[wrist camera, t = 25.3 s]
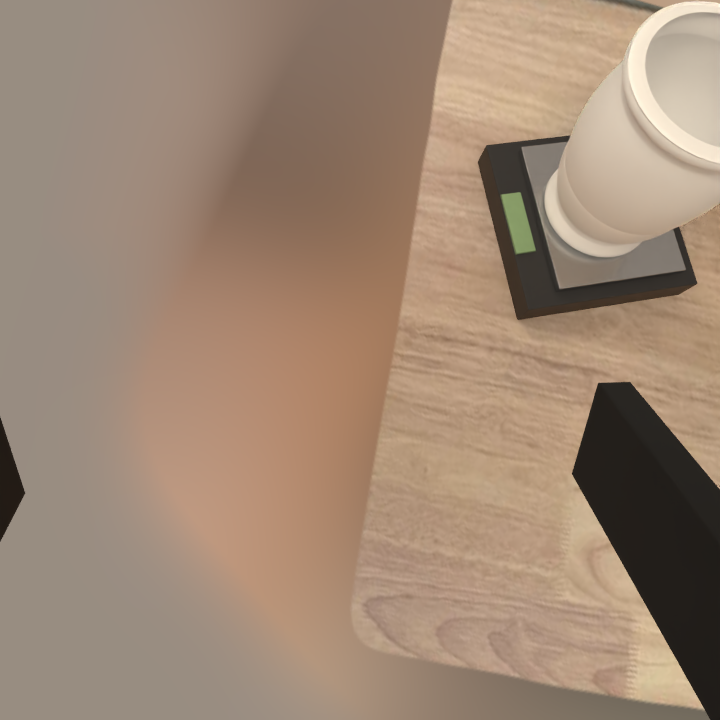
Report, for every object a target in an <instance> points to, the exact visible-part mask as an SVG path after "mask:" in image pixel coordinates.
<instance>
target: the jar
mask: <svg viewBox="0 0 720 720" xmlns="http://www.w3.org/2000/svg"><path fill="white" fill-rule="evenodd" d="M544 203H545V210H546V214H547V217H548V219H549V222H550V224H551V225H552V227H553V229H554V230H555V232H556V233H557V234H558V235H559V236H560V237H561V239H562V240H564V241H565V242H566V243H567V244H568V245H570V246H571V247H573V248H574V249H576V250H578V251H580V252H582V253H585V254H588V255H591V256H596V257H616V256H620V255H623V254H626V253H628V252H630V251H632V250H633V249H635V248H636V247H637V246H638V245H639V244H640V243H641V242H642V241H646V240H649V239H652V238H655V237H658V236H660V235H662V234H664V233H666V232H668V231H670V230H672V229H674V228H677V227H679V226H681V225H684V224H686V223H688V222H690V221H692V220H694V219H696V218H698V217H699V216H701V215H703V214H705V213H706V212H708V211H709V210H711V209H712V208H714V207H715V206H717V205H718V204H719V203H720V4H719V3H714V2H706V1H690V2H682V3H677V4H674V5H671V6H668V7H665V8H663V9H661V10H659V11H657V12H656V13H654V14H653V15H651V16H650V17H649V18H648V19H647V20H646V21H645V22H644V23H643V24H642V25H641V26H640V27H639V29H638V30H637V32H636V33H635V35H634V37H633V38H632V40H631V42H630V43H629V45H628V48H627V50H626V53H625V56H624V60H622V61H621V62H620V63H619V64H618V65H617V66H616V67H615V68H614V69H613V70H612V71H611V72H610V73H609V75H608V76H607V77H606V78H605V79H604V80H603V81H602V82H601V84H600V85H599V86H598V87H597V89H596V90H595V91H594V93H593V94H592V95H591V97H590V98H589V100H588V101H587V103H586V105H585V106H584V108H583V110H582V111H581V113H580V115H579V117H578V119H577V121H576V123H575V126H574V128H573V130H572V133H571V136H570V139H569V141H568V142H567V145H566V147H565V149H564V151H563V154H562V157H561V160H560V164H559V168H558V169H557V170H556V171H555V172H554V174H553V175H552V176H551V178H550V180H549V182H548V184H547V187H546V190H545V198H544Z"/></svg>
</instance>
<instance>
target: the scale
mask: <svg viewBox="0 0 720 720" xmlns="http://www.w3.org/2000/svg"><path fill="white" fill-rule="evenodd" d="M569 139H570V136H562V137H554V138H545V139H537V140H528V141H520V142H511V143H503V144H494V145H487V146H486V147H485V149H484V151H483V153H482V155H481V157H480V159H479V161H478V164H479V168H480V172H481V176H482V180H483V184H484V188H485V192H486V196H487V200H488V204H489V208H490V212H491V216H492V220H493V224H494V228H495V232H496V236H497V240H498V244H499V248H500V252H501V256H502V260H503V264H504V268H505V272H506V276H507V280H508V284H509V288H510V292H511V296H512V300H513V304H514V308H515V312H516V316H517V319H518V320H519V319H525V318H532V317H538V316H544V315H551V314H557V313H563V312H570V311H576V310H583V309H589V308H595V307H602V306H608V305H615V304H621V303H627V302H634V301H640V300H647V299H653V298H659V297H666V296H672V295H678V294H680V293H682V292H684V291H686V290H687V289H689V288H691V287H693V286H694V285H696V284H697V281H696V278H695V275H694V272H693V269H692V265H691V262H690V259H689V256H688V253H687V250H686V247H685V244H684V241H683V237H682V234H681V231H680V228H679V227H677V228H674V229H673V230H674V234H675V237H676V240H677V243H678V246H679V249H680V252H681V256H682V259H683V262H684V265H685V268H686V270H685V271H683V272H682V273H680V274H674V275H667V276H660V277H654V278H647V279H641V280H634V281H627V282H621V283H614V284H608V285H601V286H595V287H588V288H581V289H575V290H568V291H562V292H555V288H554V284H553V280H552V277H551V273H550V269H549V265H548V262H547V258H546V254H545V250H544V247H543V243H542V239H541V236H540V232H539V228H538V224H537V221H536V217H535V213H534V209H533V206H532V202H531V198H530V194H529V191H528V187H527V183H526V180H525V176H524V172H523V168H522V165H521V161H520V157H519V153H518V152H519V150H520V149H521V147H527V146H535V145H544V144H552V143H560V142H568V141H569Z"/></svg>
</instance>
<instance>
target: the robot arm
mask: <svg viewBox="0 0 720 720" xmlns="http://www.w3.org/2000/svg"><path fill="white" fill-rule="evenodd" d="M572 475H573V477H574V478H575V480H576V482H577V484H578V486H579V487H580V489H581V491H582V493H583V494H584V496H585V498H586V500H587V501H588V503H589V505H590V507H591V509H592V510H593V512H594V514H595V516H596V517H597V519H598V521H599V523H600V525H601V526H602V528H603V530H604V532H605V533H606V535H607V537H608V539H609V541H610V542H611V544H612V546H613V548H614V549H615V551H616V553H617V555H618V556H619V558H620V560H621V562H622V564H623V565H624V567H625V569H626V571H627V572H628V574H629V576H630V578H631V580H632V581H633V583H634V585H635V587H636V588H637V590H638V592H639V594H640V596H641V597H642V599H643V601H644V603H645V604H646V606H647V608H648V610H649V611H650V613H651V615H652V617H653V619H654V620H655V622H656V624H657V626H658V627H659V629H660V631H661V633H662V635H663V636H664V638H665V640H666V642H667V643H668V645H669V647H670V649H671V651H672V652H673V654H674V656H675V658H676V659H677V661H678V663H679V665H680V666H681V668H682V670H683V672H684V674H685V675H686V677H687V679H688V681H689V682H690V684H691V686H692V688H693V690H694V691H695V693H696V695H697V697H698V698H699V700H700V702H701V704H702V706H703V707H704V709H705V711H706V712H707V714H708V716H709V718H710V720H720V489H719V488H718V487H717V486H716V485H715V483H714V482H713V481H712V480H711V479H710V477H709V476H708V475H707V474H706V473H705V471H704V470H703V469H702V468H701V467H700V465H699V464H698V463H697V462H696V461H695V459H694V458H693V457H692V456H691V455H690V453H689V452H688V451H687V450H686V449H685V447H684V446H683V445H682V444H681V443H680V441H679V440H678V439H677V438H676V437H675V435H674V434H673V433H672V432H671V431H670V429H669V428H668V427H667V426H666V425H665V423H664V422H663V421H662V420H661V419H660V417H659V416H658V415H657V414H656V413H655V411H654V410H653V409H652V408H651V407H650V405H649V404H648V403H647V402H646V401H645V399H644V398H643V397H642V396H641V395H640V393H639V392H638V391H637V390H636V389H635V387H634V386H633V385H632V384H631V383H630V382H616V383H598V386H597V389H596V393H595V396H594V400H593V403H592V407H591V410H590V413H589V417H588V420H587V424H586V427H585V431H584V434H583V438H582V441H581V445H580V448H579V451H578V455H577V458H576V462H575V465H574V469H573V472H572ZM24 494H25V492H24V488H23V485H22V482H21V479H20V476H19V473H18V470H17V467H16V464H15V461H14V458H13V455H12V452H11V448H10V446H9V442H8V440H7V437H6V434H5V430H4V427H3V424H2V421H1V418H0V541H1V539H2V537H3V535H4V533H5V531H6V529H7V527H8V526H9V524H10V522H11V520H12V518H13V516H14V514H15V512H16V510H17V508H18V506H19V504H20V502H21V500H22V498H23V496H24Z"/></svg>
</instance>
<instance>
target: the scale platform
mask: <svg viewBox="0 0 720 720" xmlns="http://www.w3.org/2000/svg"><path fill="white" fill-rule="evenodd" d="M566 145H567V142H560V143H552V144H544V145H535V146H527V147H521V149H520V150H519V152H518V153H519V157H520V161H521V165H522V168H523V172H524V176H525V180H526V183H527V187H528V191H529V194H530V198H531V202H532V206H533V209H534V213H535V217H536V221H537V224H538V228H539V232H540V236H541V239H542V243H543V247H544V250H545V254H546V258H547V262H548V265H549V269H550V273H551V277H552V280H553V284H554V288H555V292H562V291H568V290H575V289H581V288H588V287H595V286H601V285H608V284H614V283H621V282H627V281H634V280H641V279H647V278H654V277H660V276H667V275H674V274H680V273H682V272H683V271H685V270H686V268H685V265H684V262H683V259H682V256H681V252H680V249H679V246H678V243H677V240H676V237H675V234H674V230H673V229H672V230H670V231H668V232H666V233H664V234H662V235H660V236H658V237H655V238H652V239H649V240H646V241H642V242H641V243H640V244H639V245H638V246H637V247H636V248H635V249H633V250H632V251H630V252H628V253H626V254H623V255H620V256H616V257H596V256H591V255H588V254H585V253H582V252H580V251H578V250H576V249H574V248H573V247H571V246H570V245H568V244H567V243H566V242H565V241H564V240H562V239H561V237H560V236H559V235H558V234H557V233H556V232H555V230H554V229H553V227H552V225H551V224H550V222H549V219H548V217H547V214H546V210H545V203H544V198H545V190H546V187H547V184H548V182H549V180H550V178H551V176H552V175H553V174H554V172H555V171H556V170H557V169H558V168H559V164H560V160H561V157H562V154H563V151H564V149H565V147H566Z"/></svg>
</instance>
